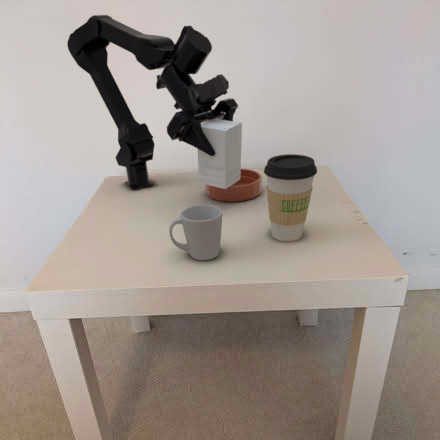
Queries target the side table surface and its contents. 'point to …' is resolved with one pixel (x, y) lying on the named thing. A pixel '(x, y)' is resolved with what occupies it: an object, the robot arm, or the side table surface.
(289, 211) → the coffee cup
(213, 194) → the bowl
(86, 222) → the side table surface
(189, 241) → the cup
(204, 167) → the white packaging box
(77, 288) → the side table surface
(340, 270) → the side table surface
